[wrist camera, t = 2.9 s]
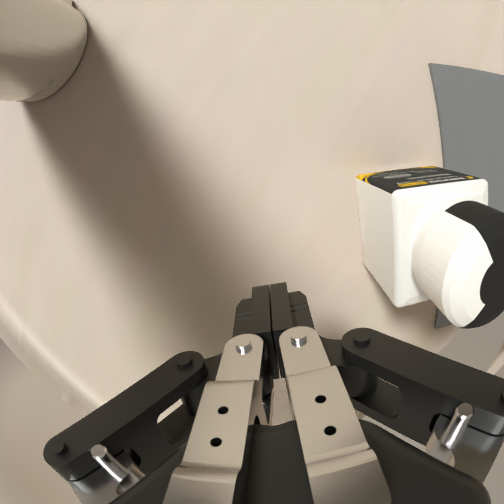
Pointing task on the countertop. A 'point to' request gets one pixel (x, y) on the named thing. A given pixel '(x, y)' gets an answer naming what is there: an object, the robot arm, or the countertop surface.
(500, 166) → the rubber mat
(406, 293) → the medicine bottle
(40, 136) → the countertop surface
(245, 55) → the countertop surface
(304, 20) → the countertop surface
